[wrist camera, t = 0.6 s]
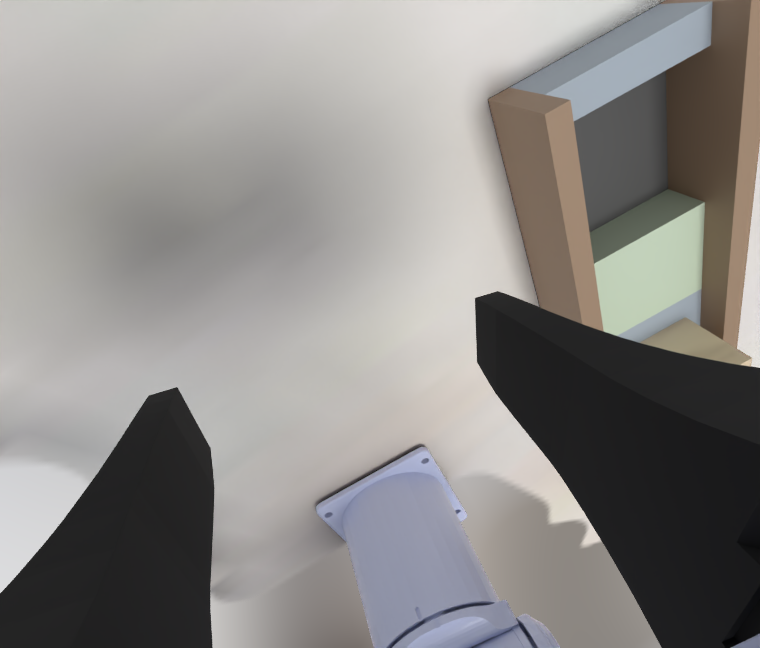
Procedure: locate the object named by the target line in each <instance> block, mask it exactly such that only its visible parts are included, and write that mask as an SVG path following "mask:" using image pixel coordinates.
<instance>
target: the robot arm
mask: <svg viewBox="0 0 760 648" xmlns="http://www.w3.org/2000/svg"><path fill="white" fill-rule="evenodd" d="M475 310H476V340H477V363H478V364H479V366H480V368H481V370H482V371H483V373H484V375H485V376H486V378H487V380H488V382H489V383H490V385H491V386H492V388H493V390H494V391H495V393H496V394H497V396H498V397H499V398H500V400H501V401H502V402H503V403H504V405H505V406H506V407H507V408H508V410H509V411H510V412H511V414H512V415H513V416H514V417H515V419H516V420H517V421H518V422H519V424H520V425H521V426H522V427H523V429H524V430H525V431H526V432H527V433H528V435H529V436H530V437H531V438H532V440H533V441H534V442H535V443H536V445H537V446H538V447H539V448H540V450H541V451H542V452H543V453H544V455H545V456H546V457H547V458H548V460H549V461H550V462H551V464H552V465H553V466H554V468H555V469H556V470H557V472H558V473H559V474H560V476H561V477H562V479H563V480H564V482H565V483H566V485H567V486H568V488H569V490H570V491H571V493H572V494H573V496H574V497H575V499H576V500H577V502H578V503H579V505H580V507H581V508H582V510H583V511H584V513H585V514H586V516H587V518H588V519H589V521H590V523H591V524H592V526H593V527H594V529H595V531H596V532H597V534H598V536H599V537H600V539H601V541H602V542H603V544H604V545H605V547H606V549H607V550H608V552H609V554H610V556H611V557H612V559H613V561H614V562H615V564H616V566H617V568H618V569H619V571H620V573H621V575H622V576H623V578H624V580H625V581H626V583H627V585H628V586H629V588H630V590H631V592H632V594H633V595H634V597H635V599H636V601H637V603H638V604H639V606H640V608H641V610H642V612H643V614H644V616H645V618H646V619H647V621H648V623H649V625H650V627H651V629H652V630H653V632H654V634H655V636H656V638H657V640H658V641H659V643H660V645H661V647H662V648H760V368H756V367H750V366H744V365H737V364H731V363H726V362H721V361H716V360H711V359H705V358H700V357H695V356H691V355H686V354H682V353H677V352H673V351H669V350H665V349H661V348H658V347H654V346H650V345H646V344H642V343H639V342H635V341H632V340H628V339H625V338H622V337H619V336H616V335H613V334H610V333H607V332H604V331H601V330H598V329H595V328H592V327H589V326H586V325H584V324H581V323H578V322H576V321H573V320H570V319H568V318H565V317H562V316H560V315H557V314H555V313H552V312H550V311H547V310H545V309H542V308H540V307H537V306H535V305H532V304H530V303H528V302H525V301H523V300H520V299H517V298H515V297H512V296H510V295H507V294H504V293H501V292H498V291H497V292H494V293H491V294H487V295H484V296H481V297H477V298H475ZM213 512H214V480H213V468H212V459H211V450H210V447H209V445H208V443H207V441H206V439H205V438H204V436H203V434H202V432H201V430H200V428H199V427H198V425H197V423H196V421H195V419H194V417H193V415H192V414H191V412H190V410H189V408H188V406H187V404H186V403H185V401H184V399H183V397H182V395H181V393H180V392H179V390H178V388H177V387H176V388H173V389H170V390H166V391H163V392H160V393H156V394H153V395H150V396H148V398H147V399H146V401H145V402H144V404H143V405H142V407H141V408H140V410H139V411H138V413H137V414H136V416H135V417H134V419H133V421H132V422H131V424H130V425H129V427H128V428H127V430H126V431H125V433H124V435H123V436H122V438H121V439H120V441H119V442H118V444H117V445H116V447H115V448H114V450H113V451H112V453H111V454H110V456H109V457H108V459H107V460H106V462H105V463H104V465H103V466H102V468H101V469H100V471H99V472H98V474H97V475H96V476H95V478H94V479H93V480H92V482H91V483H90V484H89V486H88V487H87V489H86V490H85V491H84V493H83V494H82V496H81V497H80V498H79V499H78V501H77V502H76V504H75V505H74V507H73V508H72V509H71V510H70V512H69V513H68V514H67V516H66V517H65V519H64V520H63V521H62V522H61V524H60V525H59V526H58V527H57V529H56V530H55V531H54V533H53V534H52V535H51V536H50V537H49V539H48V540H47V541H46V542H45V543H44V545H43V546H42V547H41V548H40V549H39V551H38V552H37V553H36V554H35V555H34V556H33V558H32V559H31V560H30V561H29V562H28V563H27V564H26V566H25V567H24V568H23V569H22V570H21V571H20V573H19V574H18V575H17V576H16V577H15V578H14V580H12V582H11V583H10V584H9V585H8V586H7V587H6V588H5V589H4V590H3V591H2V592H1V593H0V648H212V631H211V615H210V581H211V559H212V536H213ZM316 512H317V514H318V515H319V516H320V517H321V518H322V519H323V520H324V521H325V522H326V523H327V524H328V525H329V526H330V527H331V528H332V529H333V530H334V531H335V532H336V533H337V534H338V535H339V536H340V537H341V538H342V539H343V540H344V541H346V542H347V545H348V549H349V553H350V557H351V561H352V564H353V569H354V572H355V576H356V580H357V584H358V588H359V592H360V595H361V600H362V603H363V607H364V611H365V615H366V619H367V623H368V627H369V630H370V635H371V638H372V642H373V646H374V648H561V647H560V646H559V644H558V643H557V641H556V640H555V638H554V637H553V635H552V634H551V632H550V631H549V630H548V629H547V628H546V626H545V625H544V624H543V623H541V622H539V621H537V620H535V619H533V618H532V617H531V616H529V615H528V614H522V615H520V616H519V617H517V618H515V616H514V614H513V612H512V610H511V608H510V606H509V604H508V602H507V600H502V601H499V598H498V596H497V594H496V593H495V591H494V588H493V586H492V584H491V582H490V580H489V578H488V576H487V574H486V572H485V570H484V569H483V566H482V564H481V562H480V560H479V558H478V556H477V554H476V552H475V551H474V548H473V546H472V544H471V542H470V540H469V538H468V536H467V534H466V533H465V530H464V528H463V527H462V524H461V522H462V521H463V520H465V519H466V517H467V513H466V511H465V510H464V508H463V506H462V505H461V503H460V501H459V500H458V498H457V496H456V495H455V493H454V492H453V490H452V488H451V487H450V485H449V483H448V482H447V480H446V478H445V477H444V475H443V473H442V472H441V470H440V468H439V467H438V465H437V463H436V462H435V460H434V459H433V457H432V455H431V454H430V452H429V450H428V449H427V448H426V447H420V448H417V449H416V450H414V451H412V452H410V453H408V454H407V455H405V456H403V457H401V458H399V459H398V460H396V461H394V462H392V463H391V464H389V465H387V466H385V467H383V468H382V469H380V470H378V471H376V472H374V473H373V474H371V475H369V476H367V477H365V478H364V479H362V480H360V481H358V482H356V483H355V484H353V485H351V486H349V487H347V488H346V489H344V490H342V491H340V492H339V493H337V494H335V495H333V496H331V497H330V498H328V499H326V500H324V501H322V502H321V503H319V504H318V505H317V506H316Z"/></svg>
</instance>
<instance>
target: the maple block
mask: <svg viewBox="0 0 760 648" xmlns="http://www.w3.org/2000/svg"><path fill="white" fill-rule="evenodd" d="M640 343H642V344H646V345H650V346H654V347H658V348H661V349H665V350H669V351H673V352H677V353H682V354H686V355H691V356H695V357H700V358H705V359H711V360H716V361H721V362H726V363H731V364H737V365H744V366H750V367H751V362H752V358H751V357H750V356H748V355H746V354H745V353H743V352H741V351H740V350H738V349H737V348H735V347H733V346H732V345H730V344H728V343H727V342H725V341H724V340H722V339H720V338H719V337H717V336H715V335H714V334H712V333H710V332H709V331H707V330H706V329H704V328H702V327H701V326H699V325H697V324H696V323H694V322H693V321H691V320H689V319H688V318H686V317H685V318H683V319H681V320H679V321H678V322H676V323H674V324H672V325H670V326H669V327H667V328H665V329H663V330H661V331H660V332H658V333H656V334H654V335H652V336H651V337H649V338H647V339H645V340H643V341H642V342H640Z"/></svg>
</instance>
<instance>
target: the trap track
mask: <svg viewBox="0 0 760 648" xmlns="http://www.w3.org/2000/svg"><path fill="white" fill-rule="evenodd" d="M488 102H489V106H490V110H491V114H492V118H493V122H494V126H495V130H496V134H497V138H498V142H499V146H500V150H501V154H502V158H503V162H504V166H505V170H506V174H507V178H508V182H509V186H510V190H511V194H512V198H513V201H514V205H515V209H516V213H517V217H518V221H519V225H520V229H521V233H522V237H523V241H524V245H525V249H526V253H527V257H528V261H529V265H530V269H531V273H532V277H533V281H534V285H535V289H536V293H537V297H538V301H539V305H540V308H542V309H545V310H547V311H550V312H552V313H555V314H557V315H560V316H562V317H565V318H568V319H570V320H573V321H576V322H578V323H581V324H584V325H586V326H589V327H592V328H595V329H598V330H601V331H604V332H607V333H610V334H613V335H616V336H619V337H622V338H625V339H628V340H632V341H635V342H639V343H640V342H642V341H643V340H645V339H647V338H649V337H651V336H652V335H654V334H656V333H658V332H660V331H661V330H663V329H665V328H667V327H669V326H670V325H672V324H674V323H676V322H678V321H679V320H681V319H683V318H685V317H686V318H688V319H689V320H691V321H693V322H694V323H696V324H697V325H699V326H701V327H702V328H704V329H706V330H707V331H709V332H710V333H712V334H714V335H715V336H717V337H719V338H720V339H722V340H724V341H725V342H727V343H728V344H730V345H732V346H733V347H735V348H737V342H738V333H739V324H740V315H741V306H742V297H743V288H744V279H745V270H746V261H747V252H748V243H749V234H750V225H751V216H752V207H753V198H754V189H755V180H756V171H757V162H758V153H759V144H760V0H666V1H664V2H662V3H660V4H658V5H657V6H655V7H653V8H651V9H649V10H648V11H646V12H644V13H642V14H640V15H639V16H637V17H635V18H633V19H631V20H630V21H628V22H626V23H624V24H622V25H621V26H619V27H617V28H615V29H613V30H612V31H610V32H608V33H606V34H604V35H603V36H601V37H599V38H597V39H595V40H594V41H592V42H590V43H588V44H587V45H585V46H583V47H581V48H579V49H578V50H576V51H574V52H572V53H570V54H569V55H567V56H565V57H563V58H561V59H560V60H558V61H556V62H554V63H552V64H551V65H549V66H547V67H545V68H543V69H542V70H540V71H538V72H536V73H534V74H533V75H531V76H529V77H527V78H525V79H524V80H522V81H520V82H518V83H516V84H515V85H513V86H511V87H509V88H507V89H506V90H504V91H502V92H500V93H498V94H497V95H495V96H493V97H491V98H490V99H488Z"/></svg>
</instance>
